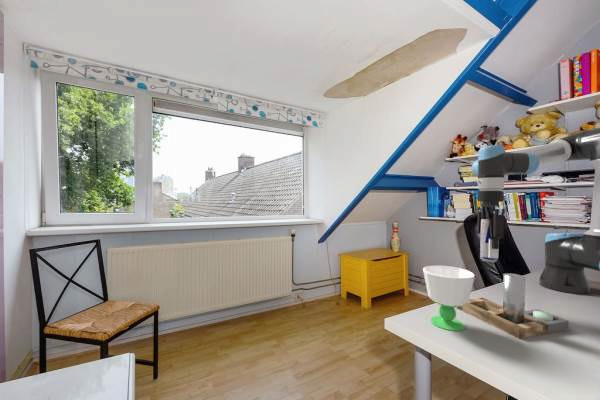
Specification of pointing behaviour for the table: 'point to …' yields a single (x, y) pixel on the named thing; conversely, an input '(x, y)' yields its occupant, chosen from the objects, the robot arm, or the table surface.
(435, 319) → the cup
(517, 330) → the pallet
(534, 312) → the button
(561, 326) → the button housing
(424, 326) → the table surface
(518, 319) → the billet
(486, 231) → the beverage can
